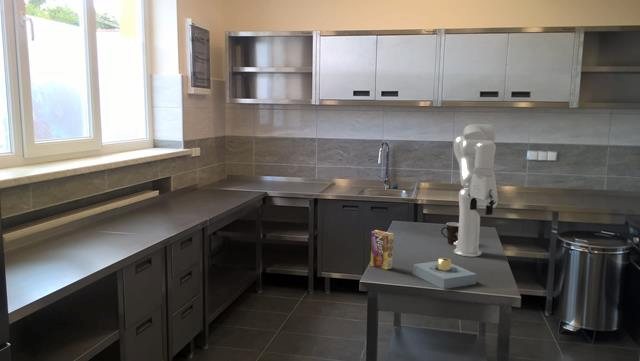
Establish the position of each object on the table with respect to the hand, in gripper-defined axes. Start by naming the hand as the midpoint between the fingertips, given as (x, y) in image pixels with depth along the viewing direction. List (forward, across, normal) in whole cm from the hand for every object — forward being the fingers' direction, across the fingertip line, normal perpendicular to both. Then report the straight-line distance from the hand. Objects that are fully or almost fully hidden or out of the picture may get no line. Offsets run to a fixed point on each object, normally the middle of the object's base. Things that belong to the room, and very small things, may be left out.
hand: (480, 212), depth 222 cm
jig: (+25, +5, -21) cm, 33 cm away
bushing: (+25, +5, -21) cm, 33 cm away
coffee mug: (+27, -40, +17) cm, 51 cm away
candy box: (+25, -17, -37) cm, 48 cm away
